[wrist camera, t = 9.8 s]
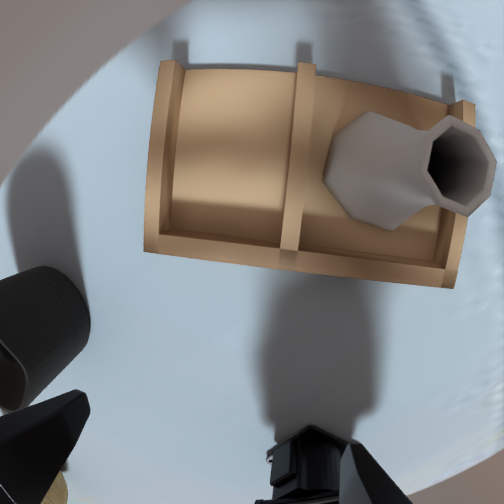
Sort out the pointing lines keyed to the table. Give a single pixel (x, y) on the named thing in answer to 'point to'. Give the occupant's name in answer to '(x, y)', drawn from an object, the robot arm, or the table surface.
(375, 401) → the table surface
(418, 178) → the flask
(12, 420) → the robot arm
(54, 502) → the fossilized egg
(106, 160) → the table surface
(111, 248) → the table surface
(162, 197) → the rack
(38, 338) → the pen holder
